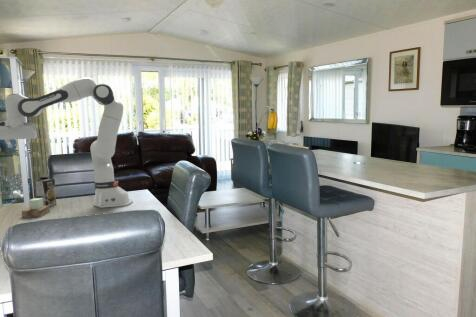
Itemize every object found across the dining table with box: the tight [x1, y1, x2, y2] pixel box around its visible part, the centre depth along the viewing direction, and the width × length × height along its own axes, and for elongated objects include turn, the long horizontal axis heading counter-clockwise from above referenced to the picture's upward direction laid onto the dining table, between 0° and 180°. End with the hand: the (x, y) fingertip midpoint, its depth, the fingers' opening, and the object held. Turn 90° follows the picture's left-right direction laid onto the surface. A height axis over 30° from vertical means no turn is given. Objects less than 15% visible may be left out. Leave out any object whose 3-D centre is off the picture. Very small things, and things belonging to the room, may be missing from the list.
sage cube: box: [28, 197, 43, 209], centre depth 202 cm, size 5×5×5 cm
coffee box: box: [35, 178, 57, 208], centre depth 221 cm, size 9×6×16 cm
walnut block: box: [21, 206, 50, 218], centre depth 202 cm, size 10×10×4 cm
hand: (18, 147), depth 207 cm, fingers open, 8 cm apart
